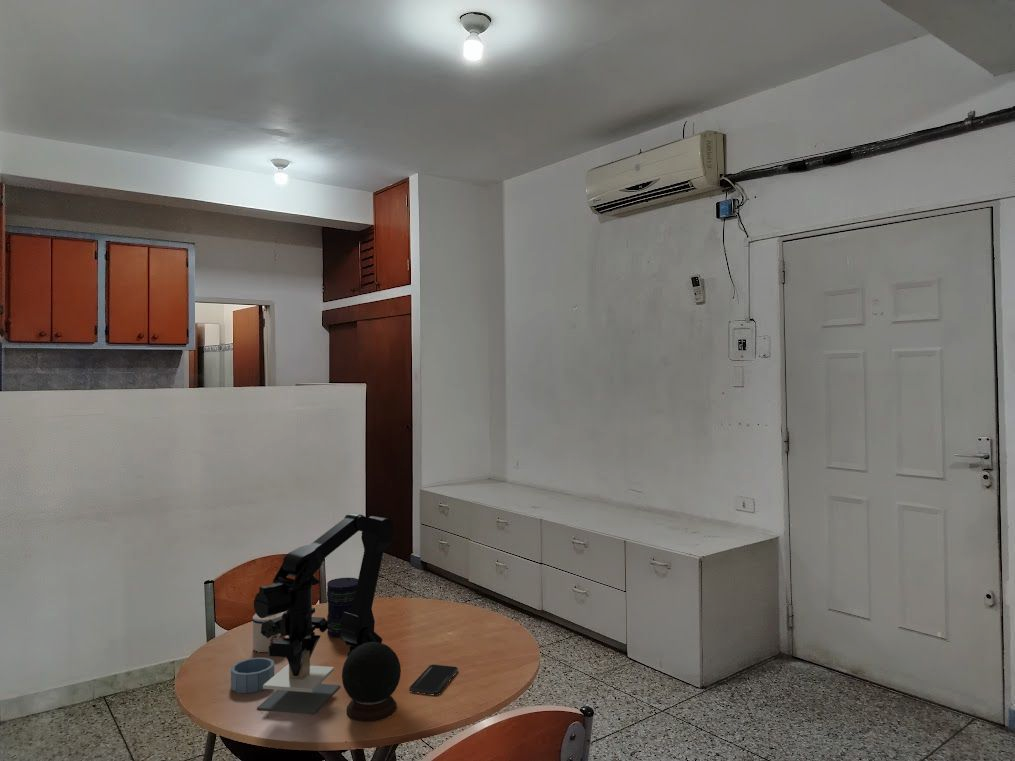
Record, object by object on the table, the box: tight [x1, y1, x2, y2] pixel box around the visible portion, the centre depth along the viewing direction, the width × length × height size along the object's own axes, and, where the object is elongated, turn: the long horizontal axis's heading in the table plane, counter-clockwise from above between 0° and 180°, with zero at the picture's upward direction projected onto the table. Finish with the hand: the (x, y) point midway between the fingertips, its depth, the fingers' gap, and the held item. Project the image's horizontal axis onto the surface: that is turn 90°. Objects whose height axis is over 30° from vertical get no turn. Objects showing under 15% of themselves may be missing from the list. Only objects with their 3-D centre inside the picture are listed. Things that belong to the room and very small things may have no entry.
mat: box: [256, 683, 341, 715], centre depth 162 cm, size 14×14×1 cm
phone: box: [409, 664, 459, 696], centre depth 170 cm, size 8×1×15 cm
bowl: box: [230, 656, 275, 694], centre depth 169 cm, size 10×10×4 cm
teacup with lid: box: [251, 612, 286, 653], centre depth 194 cm, size 12×9×12 cm
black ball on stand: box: [341, 642, 402, 723], centre depth 155 cm, size 13×13×15 cm
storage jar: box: [326, 577, 358, 639], centre depth 204 cm, size 10×10×15 cm
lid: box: [263, 650, 335, 692], centre depth 161 cm, size 12×12×6 cm
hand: (299, 672), depth 161 cm, fingers closed on lid, 3 cm apart
